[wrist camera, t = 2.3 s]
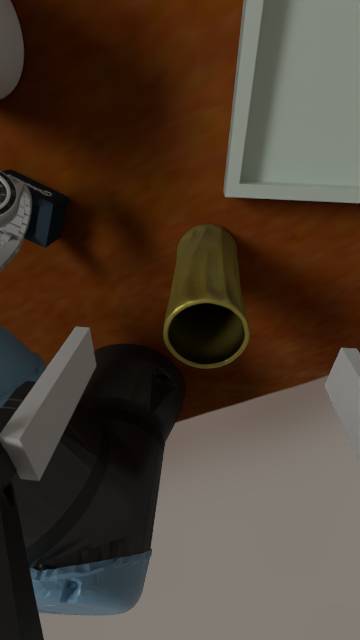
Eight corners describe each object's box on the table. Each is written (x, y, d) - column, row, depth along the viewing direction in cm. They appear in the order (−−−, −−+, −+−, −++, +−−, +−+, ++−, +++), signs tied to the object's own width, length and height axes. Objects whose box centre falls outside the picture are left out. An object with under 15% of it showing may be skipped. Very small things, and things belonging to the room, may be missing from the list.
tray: (407, 199, 24) (430, 206, 22) (223, 190, 25) (225, 196, 23) (544, -108, 16) (608, -155, 13) (254, -105, 17) (262, -148, 14)
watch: (72, 176, 26) (-3, 198, 17) (56, 252, 30) (-10, 303, 21) (11, 146, 25) (-104, 152, 16) (4, 229, 29) (-91, 271, 20)
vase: (246, 234, 27) (276, 309, 15) (224, 288, 31) (234, 384, 19) (186, 215, 27) (169, 278, 15) (170, 272, 30) (145, 360, 18)
